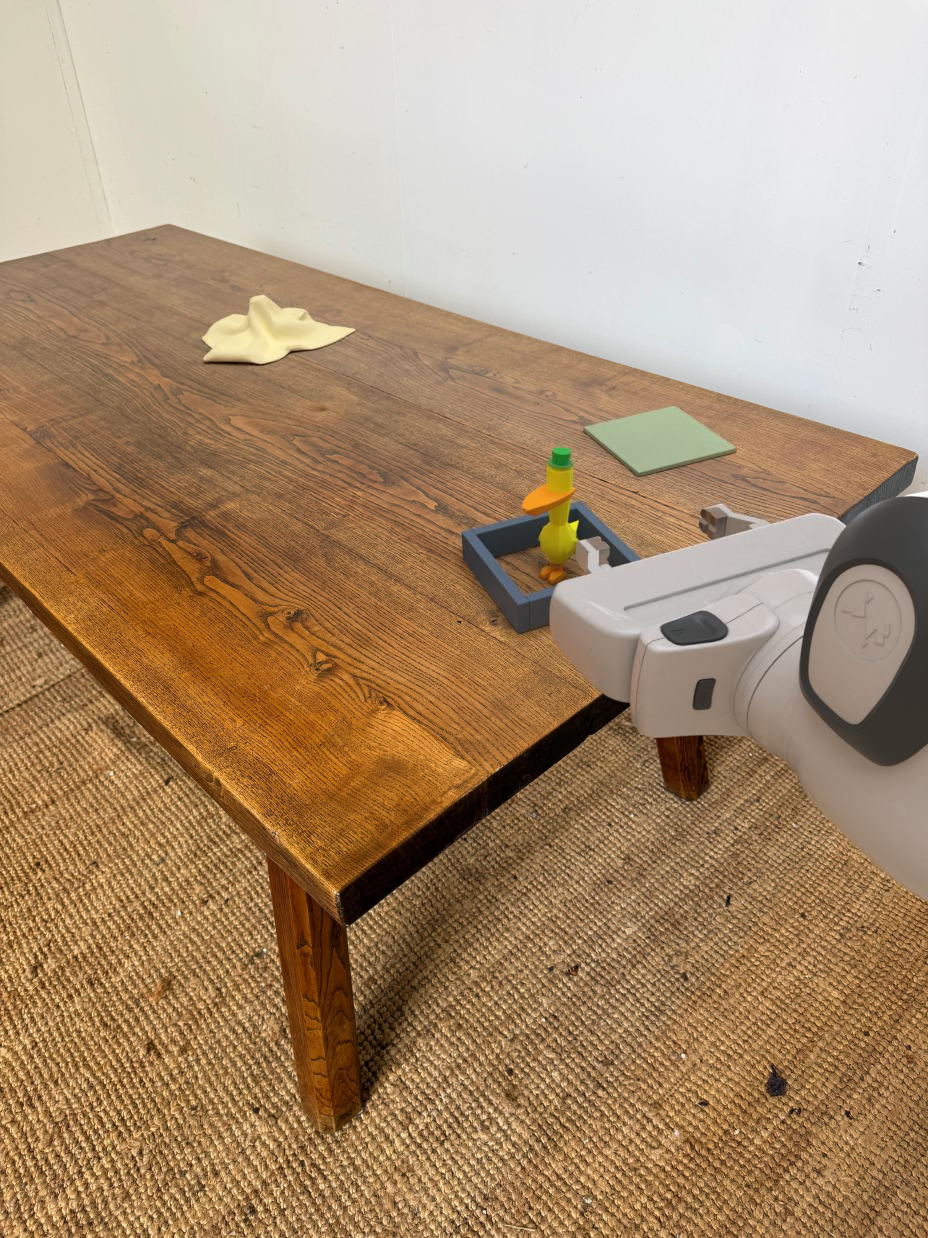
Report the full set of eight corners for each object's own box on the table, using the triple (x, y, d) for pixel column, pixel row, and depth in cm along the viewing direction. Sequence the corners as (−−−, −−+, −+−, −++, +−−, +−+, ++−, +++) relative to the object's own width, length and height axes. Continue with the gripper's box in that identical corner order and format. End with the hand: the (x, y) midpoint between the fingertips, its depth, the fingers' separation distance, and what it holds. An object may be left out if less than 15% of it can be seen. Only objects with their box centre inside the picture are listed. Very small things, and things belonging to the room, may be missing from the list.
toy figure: (540, 602, 75) (541, 476, 67) (510, 585, 77) (507, 461, 69) (592, 568, 78) (598, 445, 71) (561, 553, 80) (565, 432, 73)
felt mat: (674, 409, 103) (674, 405, 102) (736, 451, 94) (737, 447, 94) (583, 430, 99) (583, 426, 99) (638, 476, 91) (638, 472, 90)
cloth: (211, 375, 118) (200, 330, 114) (187, 332, 131) (177, 290, 127) (368, 343, 124) (363, 299, 120) (330, 305, 138) (324, 265, 134)
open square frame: (579, 527, 83) (580, 500, 82) (646, 595, 75) (649, 566, 73) (462, 559, 80) (461, 531, 78) (518, 634, 71) (517, 604, 69)
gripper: (945, 559, 49) (785, 455, 60) (626, 657, 44) (510, 524, 54) (914, 646, 53) (769, 534, 63) (617, 746, 48) (511, 606, 58)
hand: (648, 530), depth 59 cm, fingers open, 8 cm apart
